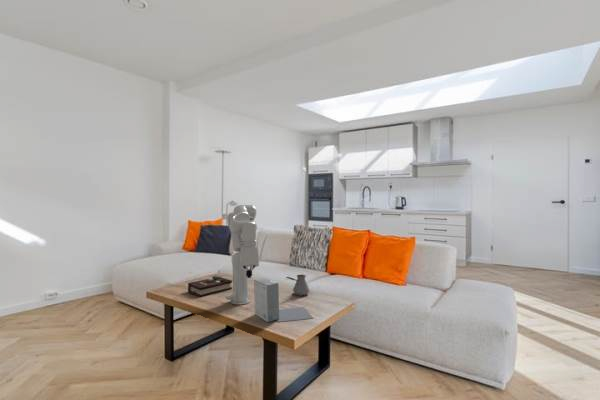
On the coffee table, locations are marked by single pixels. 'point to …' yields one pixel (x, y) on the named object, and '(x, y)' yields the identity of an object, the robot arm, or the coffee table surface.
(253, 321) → the coffee table surface
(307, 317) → the mat
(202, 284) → the decorative book
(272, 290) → the hard drive box
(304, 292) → the coffee pot
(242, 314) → the coffee table surface
